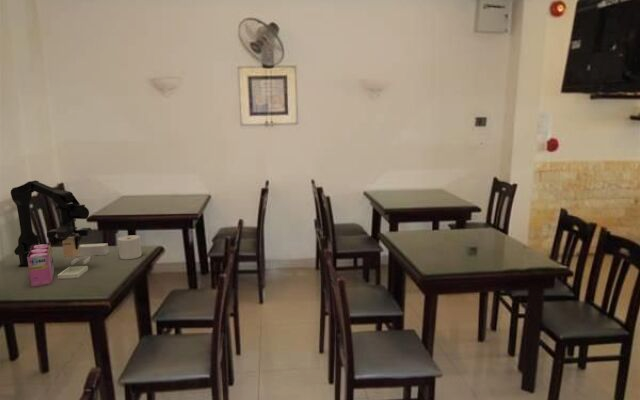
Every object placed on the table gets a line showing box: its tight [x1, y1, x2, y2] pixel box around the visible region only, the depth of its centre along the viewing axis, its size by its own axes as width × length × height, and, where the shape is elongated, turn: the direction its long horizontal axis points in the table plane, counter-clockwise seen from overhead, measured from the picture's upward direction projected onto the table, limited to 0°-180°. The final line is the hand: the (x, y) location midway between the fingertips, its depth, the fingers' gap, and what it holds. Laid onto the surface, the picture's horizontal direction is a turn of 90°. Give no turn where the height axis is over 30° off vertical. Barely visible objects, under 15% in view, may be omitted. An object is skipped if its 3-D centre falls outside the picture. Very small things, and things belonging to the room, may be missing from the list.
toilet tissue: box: [117, 234, 143, 260], centre depth 239 cm, size 11×12×10 cm
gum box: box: [27, 241, 55, 288], centre depth 212 cm, size 24×8×14 cm, turn 27°
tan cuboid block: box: [61, 236, 81, 258], centre depth 222 cm, size 4×8×8 cm, turn 5°
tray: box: [57, 265, 89, 280], centre depth 215 cm, size 9×11×2 cm
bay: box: [70, 242, 110, 266], centre depth 238 cm, size 16×20×5 cm
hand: (71, 249), depth 223 cm, fingers closed on tan cuboid block, 4 cm apart
